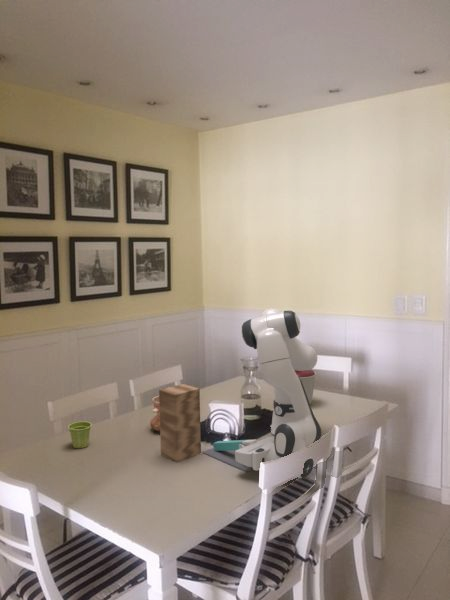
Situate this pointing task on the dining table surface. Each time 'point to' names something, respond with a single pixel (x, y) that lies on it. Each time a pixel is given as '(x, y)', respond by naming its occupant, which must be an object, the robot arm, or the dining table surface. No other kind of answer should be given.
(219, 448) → the block
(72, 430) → the plant pot
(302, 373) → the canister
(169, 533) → the dining table surface
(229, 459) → the mat
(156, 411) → the ceramic jug
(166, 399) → the tall stand
